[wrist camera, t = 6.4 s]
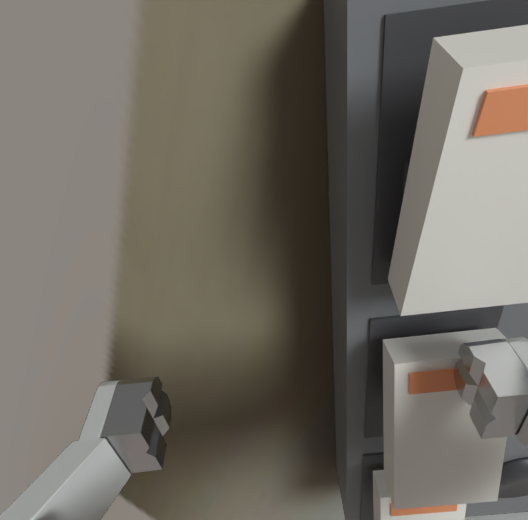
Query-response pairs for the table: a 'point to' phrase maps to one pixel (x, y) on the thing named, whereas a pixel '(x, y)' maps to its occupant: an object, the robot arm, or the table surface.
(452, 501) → the rocker middle
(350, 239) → the grey rocker switch panel
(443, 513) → the rocker
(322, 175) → the table surface
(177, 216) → the table surface
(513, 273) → the rocker
